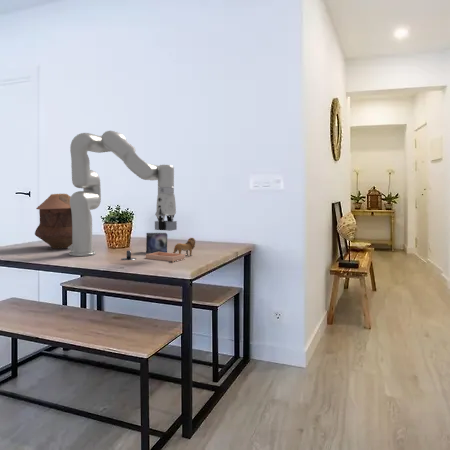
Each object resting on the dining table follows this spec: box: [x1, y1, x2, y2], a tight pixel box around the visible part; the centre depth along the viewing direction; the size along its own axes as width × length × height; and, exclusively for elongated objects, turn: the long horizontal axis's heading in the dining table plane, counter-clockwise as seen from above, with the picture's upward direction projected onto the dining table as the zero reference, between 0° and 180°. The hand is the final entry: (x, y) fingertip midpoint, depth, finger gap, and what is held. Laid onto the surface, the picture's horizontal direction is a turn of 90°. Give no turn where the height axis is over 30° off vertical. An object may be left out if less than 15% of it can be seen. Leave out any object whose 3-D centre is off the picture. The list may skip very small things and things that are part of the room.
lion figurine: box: [172, 237, 196, 256], centre depth 205 cm, size 15×5×9 cm, turn 139°
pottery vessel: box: [34, 193, 72, 249], centre depth 224 cm, size 26×26×30 cm
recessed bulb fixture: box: [154, 220, 178, 232], centre depth 193 cm, size 6×9×4 cm, turn 64°
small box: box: [145, 232, 168, 254], centre depth 213 cm, size 11×6×10 cm, turn 105°
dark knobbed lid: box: [121, 250, 137, 261], centre depth 190 cm, size 7×7×4 cm
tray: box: [145, 251, 186, 263], centre depth 194 cm, size 15×10×2 cm
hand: (165, 229), depth 193 cm, fingers closed on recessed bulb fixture, 5 cm apart
